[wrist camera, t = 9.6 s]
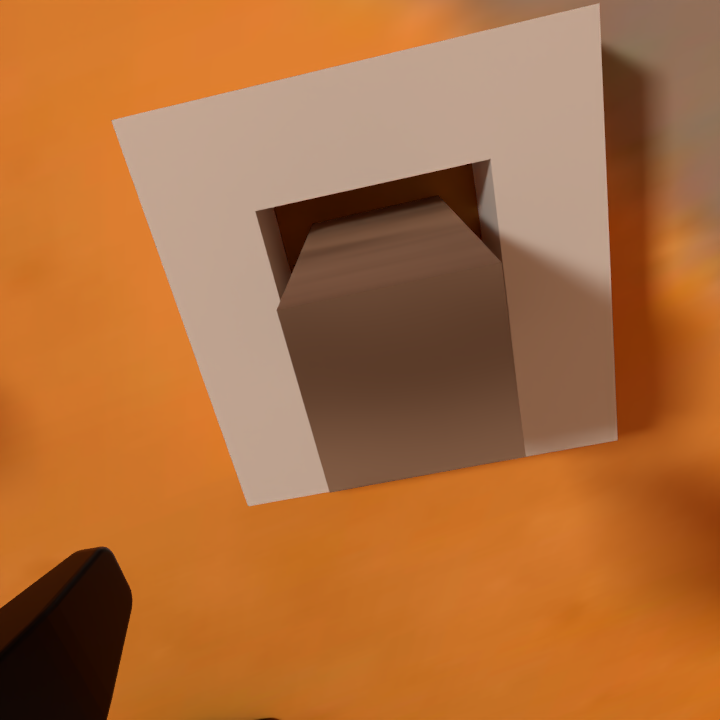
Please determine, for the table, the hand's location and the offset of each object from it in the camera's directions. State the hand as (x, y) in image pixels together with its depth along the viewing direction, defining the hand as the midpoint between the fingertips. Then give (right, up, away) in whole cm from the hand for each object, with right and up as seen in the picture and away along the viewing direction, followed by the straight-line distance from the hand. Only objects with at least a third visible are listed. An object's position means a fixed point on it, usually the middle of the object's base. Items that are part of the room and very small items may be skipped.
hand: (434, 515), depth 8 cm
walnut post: (0, +5, +12) cm, 13 cm away
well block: (0, +5, +12) cm, 13 cm away
